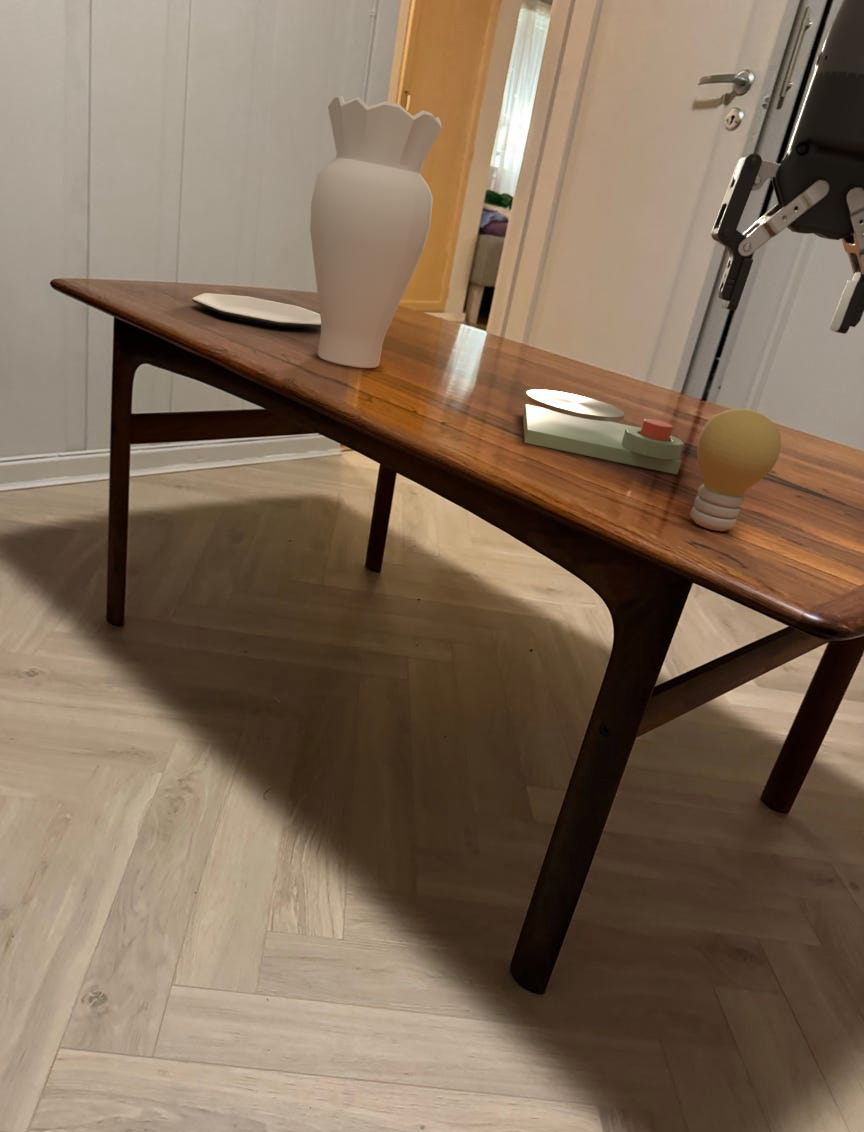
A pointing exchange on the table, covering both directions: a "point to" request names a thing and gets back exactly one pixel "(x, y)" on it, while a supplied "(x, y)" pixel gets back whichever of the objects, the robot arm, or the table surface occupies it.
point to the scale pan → (575, 405)
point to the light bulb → (732, 464)
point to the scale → (600, 440)
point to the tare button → (656, 429)
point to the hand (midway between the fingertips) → (783, 320)
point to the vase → (369, 224)
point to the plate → (259, 310)
